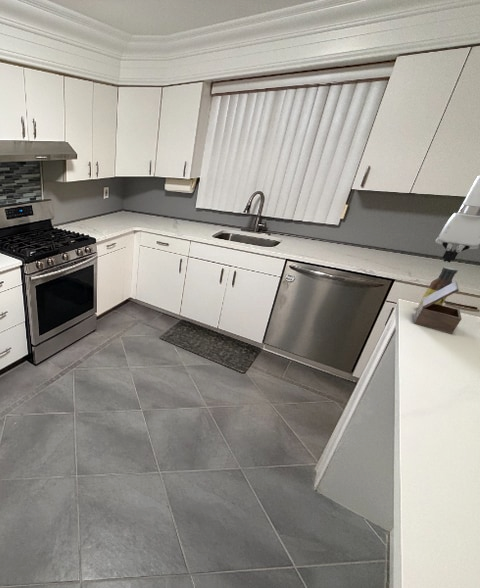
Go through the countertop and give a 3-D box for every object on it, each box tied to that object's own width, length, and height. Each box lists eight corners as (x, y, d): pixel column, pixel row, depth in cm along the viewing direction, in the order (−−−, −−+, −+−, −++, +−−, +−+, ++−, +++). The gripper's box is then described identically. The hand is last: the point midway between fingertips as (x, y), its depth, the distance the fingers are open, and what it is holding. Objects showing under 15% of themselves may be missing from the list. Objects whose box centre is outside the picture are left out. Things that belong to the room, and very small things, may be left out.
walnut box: (450, 324, 123) (459, 309, 120) (451, 334, 116) (461, 318, 113) (414, 314, 129) (422, 300, 126) (414, 323, 122) (422, 308, 120)
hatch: (457, 282, 118) (455, 281, 118) (459, 290, 111) (457, 289, 112) (424, 300, 126) (422, 298, 126) (424, 308, 119) (422, 306, 119)
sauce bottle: (437, 317, 128) (463, 272, 119) (416, 312, 131) (440, 268, 123) (435, 311, 132) (461, 268, 123) (415, 306, 136) (439, 264, 127)
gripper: (506, 213, 105) (475, 264, 113) (443, 206, 114) (418, 254, 122) (510, 216, 100) (477, 269, 108) (444, 209, 109) (418, 258, 117)
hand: (446, 261), depth 115 cm, fingers closed
